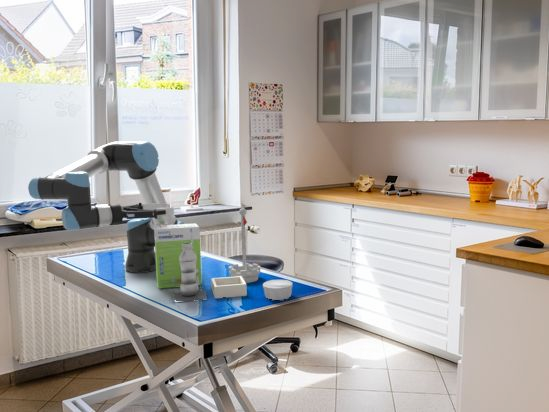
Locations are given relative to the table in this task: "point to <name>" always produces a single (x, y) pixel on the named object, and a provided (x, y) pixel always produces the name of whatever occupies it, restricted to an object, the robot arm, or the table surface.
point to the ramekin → (278, 289)
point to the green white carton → (175, 252)
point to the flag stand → (244, 258)
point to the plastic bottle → (188, 270)
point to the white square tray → (228, 287)
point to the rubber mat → (198, 296)
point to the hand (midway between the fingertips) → (166, 208)
